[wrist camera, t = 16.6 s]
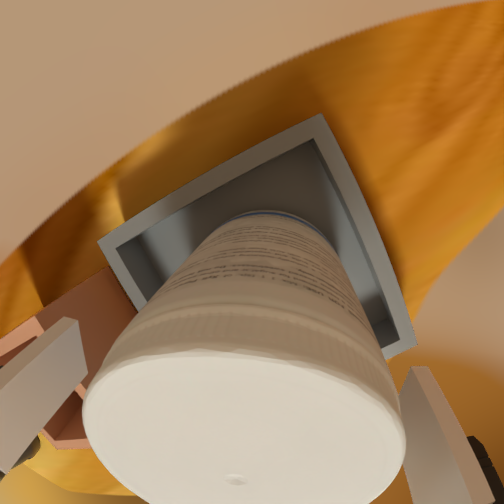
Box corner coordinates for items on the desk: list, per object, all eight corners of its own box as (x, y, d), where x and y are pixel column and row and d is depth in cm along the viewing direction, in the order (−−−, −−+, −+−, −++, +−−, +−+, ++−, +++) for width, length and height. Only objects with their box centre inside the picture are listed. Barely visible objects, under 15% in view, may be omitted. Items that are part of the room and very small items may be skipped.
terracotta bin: (100, 390, 27) (56, 449, 19) (43, 307, 25) (-19, 352, 17) (174, 367, 25) (133, 444, 17) (108, 265, 23) (34, 315, 15)
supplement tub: (174, 239, 21) (16, 365, 7) (312, 184, 19) (376, 254, 5) (233, 357, 23) (179, 537, 9) (358, 319, 21) (418, 508, 7)
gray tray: (226, 386, 25) (216, 418, 21) (125, 227, 22) (96, 241, 18) (400, 316, 22) (417, 344, 18) (315, 121, 19) (321, 112, 15)
